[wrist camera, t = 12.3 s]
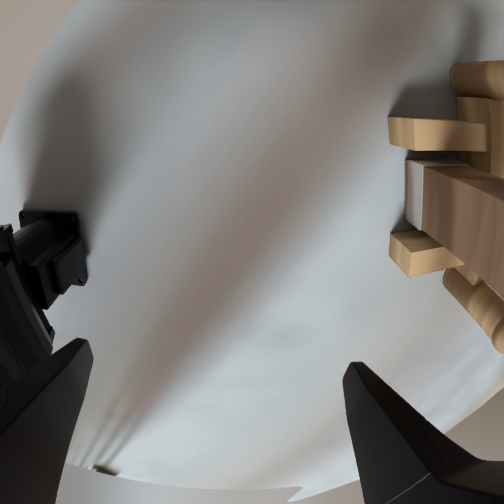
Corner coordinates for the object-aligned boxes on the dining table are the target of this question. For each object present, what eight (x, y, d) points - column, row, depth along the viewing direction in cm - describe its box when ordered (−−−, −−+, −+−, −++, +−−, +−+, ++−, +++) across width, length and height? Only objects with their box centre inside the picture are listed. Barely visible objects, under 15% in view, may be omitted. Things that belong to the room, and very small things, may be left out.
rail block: (403, 217, 21) (515, 315, 9) (403, 158, 19) (542, 221, 7) (447, 212, 21) (556, 292, 9) (449, 157, 19) (578, 213, 7)
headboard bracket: (383, 306, 24) (437, 398, 15) (378, 48, 15) (482, 14, 5) (462, 286, 24) (523, 354, 14) (472, 65, 15) (572, 67, 5)
